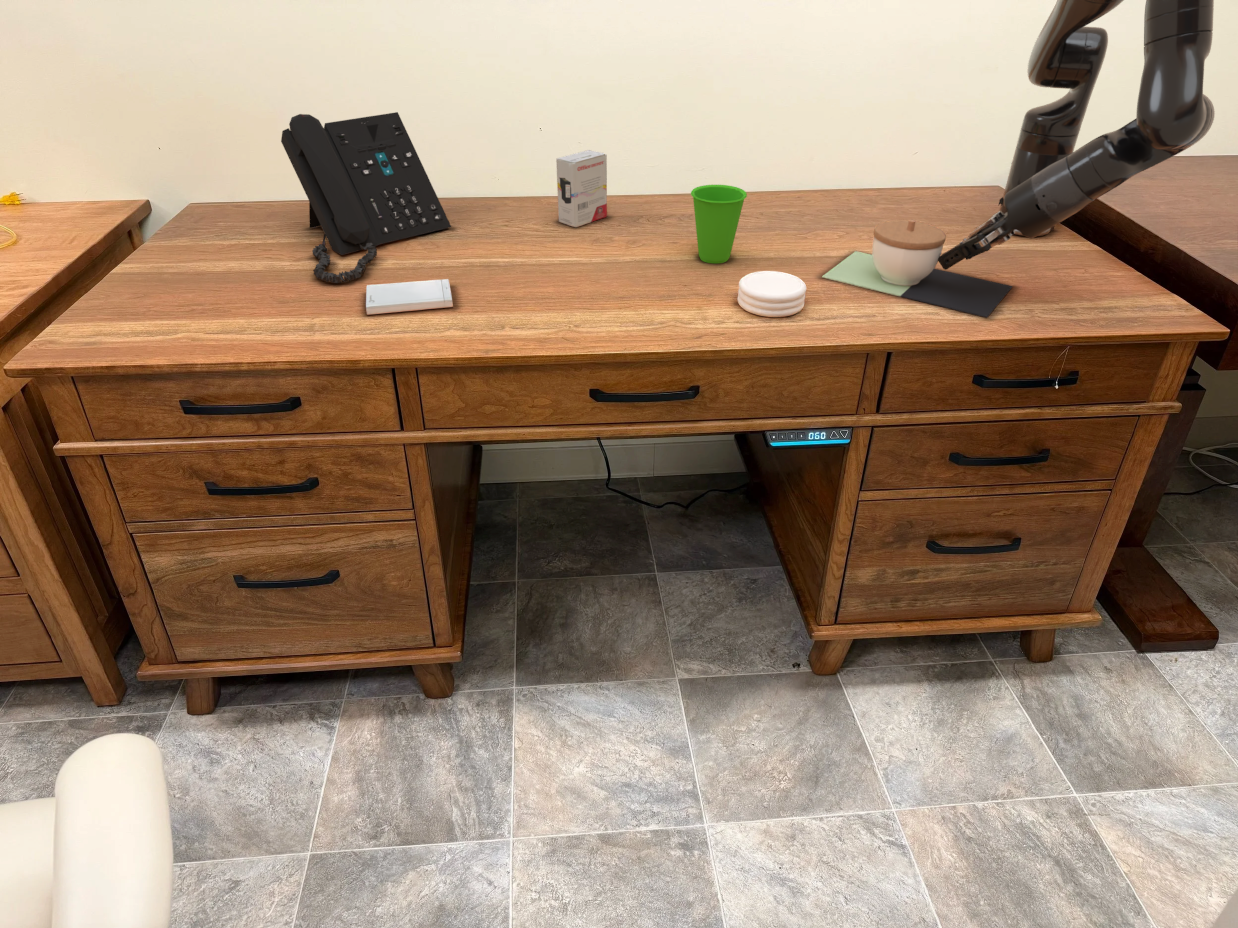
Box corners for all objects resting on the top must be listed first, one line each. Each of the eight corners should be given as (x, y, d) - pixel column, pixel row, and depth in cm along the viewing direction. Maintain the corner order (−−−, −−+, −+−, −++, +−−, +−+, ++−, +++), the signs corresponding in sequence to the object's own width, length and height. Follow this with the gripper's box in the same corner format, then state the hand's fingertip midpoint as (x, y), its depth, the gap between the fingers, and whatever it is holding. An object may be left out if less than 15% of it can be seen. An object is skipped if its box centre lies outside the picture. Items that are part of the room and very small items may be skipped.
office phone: (328, 289, 130) (300, 155, 118) (256, 241, 147) (226, 120, 136) (486, 245, 146) (475, 124, 134) (404, 206, 163) (388, 96, 152)
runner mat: (1012, 287, 131) (1012, 286, 131) (987, 318, 122) (987, 316, 122) (855, 252, 144) (855, 251, 144) (821, 277, 134) (821, 276, 134)
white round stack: (731, 292, 129) (732, 270, 127) (794, 290, 130) (796, 268, 128) (744, 319, 121) (747, 297, 119) (811, 317, 122) (815, 295, 120)
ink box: (590, 211, 161) (589, 148, 154) (608, 217, 158) (608, 153, 152) (557, 222, 156) (555, 157, 149) (575, 228, 153) (573, 162, 146)
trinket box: (938, 271, 136) (951, 214, 131) (931, 296, 128) (945, 236, 123) (871, 262, 139) (881, 206, 134) (860, 285, 131) (871, 226, 126)
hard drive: (365, 306, 121) (452, 297, 123) (366, 284, 127) (448, 276, 130) (367, 316, 122) (453, 308, 124) (367, 294, 128) (449, 286, 131)
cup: (738, 270, 137) (744, 203, 131) (683, 265, 138) (687, 199, 132) (743, 250, 144) (749, 186, 138) (690, 246, 146) (694, 183, 139)
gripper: (1045, 164, 121) (941, 231, 133) (1022, 186, 112) (914, 256, 124) (1073, 207, 121) (967, 270, 134) (1053, 233, 112) (942, 297, 125)
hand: (942, 263), depth 129 cm, fingers closed
